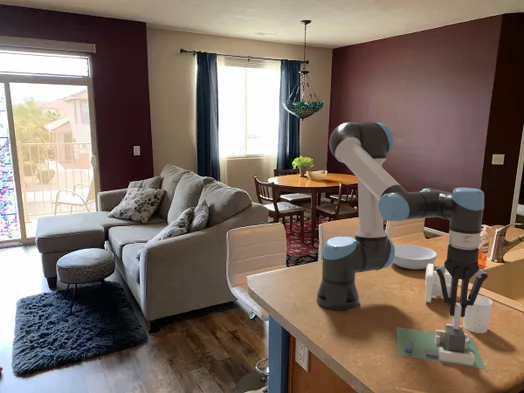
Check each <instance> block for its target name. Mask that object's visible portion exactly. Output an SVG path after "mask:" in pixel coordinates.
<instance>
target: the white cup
mask: <svg viewBox="0 0 524 393" xmlns="http://www.w3.org/2000/svg"><path fill="white" fill-rule="evenodd" d="M469 294H470V293H469ZM469 294H468V293H467V299H468V296H469ZM492 309H493V301H492V299H491V298H489V297H487V296H484V295H480V294H478V295H477V298H476V300H475V302H474V305H473V306H470V305H469V306H467V307H466V309H465V316H464V317H462V318H463V320H462V323H463V324H462V327H464V329H465V330H467V331H469V332H472V333H477V334H485V333H487V332H488V329H489V324H490V321H491V320H490V319H491V315H492Z"/></svg>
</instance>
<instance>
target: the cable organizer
mask: <svg viewBox="0 0 524 393" xmlns="http://www.w3.org/2000/svg"><path fill="white" fill-rule="evenodd" d="M444 277H445V282H446V287H447V293H448V297H450V292H451V281H452V276H451V275H450V274H449V272H448V271H447V272H446V271H445V274H444ZM424 280H425V284H424V287H425V288H424V301H425V303H431V302H432V298H433V299H437V298H438V297H441V298H443V295H442V289H441V284H440V279H439V275H438V274H437V272H436V270H435V266H434V263H433V264H428V265H427V268H425V279H424Z"/></svg>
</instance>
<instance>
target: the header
mask: <svg viewBox="0 0 524 393" xmlns="http://www.w3.org/2000/svg"><path fill="white" fill-rule="evenodd" d="M445 332H446V330H443V329H435V331H434V333H435V344H436V345H439V344H440V343H444V342H445ZM464 334H465V337H466V338H465V347H464V349H467V348H468V339H467V337H468V333H466V332H464ZM438 356H439V360H441V361H448V362H454V363H460V364H466V365H473V364H474V355H473V352H469V351H468V354H463V353H457V352H450V351H444V350H443V348H442V347H439V352H438Z"/></svg>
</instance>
